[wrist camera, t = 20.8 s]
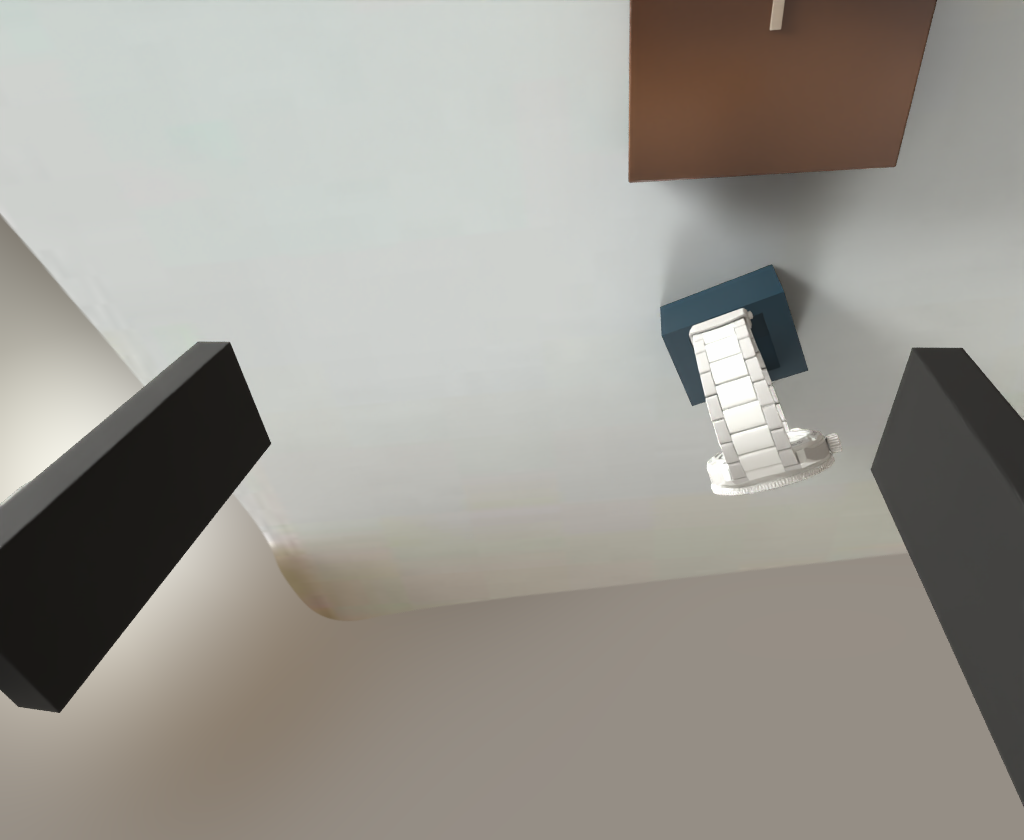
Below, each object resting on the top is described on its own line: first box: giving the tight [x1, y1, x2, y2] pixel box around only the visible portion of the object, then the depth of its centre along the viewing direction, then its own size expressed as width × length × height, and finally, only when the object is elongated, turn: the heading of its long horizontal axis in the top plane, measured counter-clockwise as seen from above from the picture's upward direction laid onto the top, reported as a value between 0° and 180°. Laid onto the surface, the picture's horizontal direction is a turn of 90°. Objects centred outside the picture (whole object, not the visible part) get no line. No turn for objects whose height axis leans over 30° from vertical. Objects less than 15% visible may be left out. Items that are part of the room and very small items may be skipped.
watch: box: [660, 265, 842, 495], centre depth 27 cm, size 6×8×11 cm
